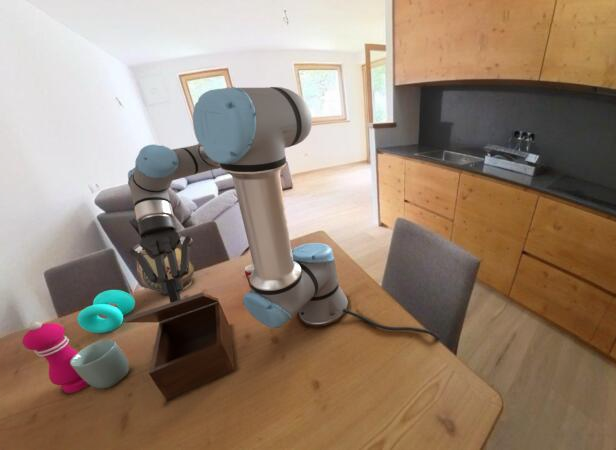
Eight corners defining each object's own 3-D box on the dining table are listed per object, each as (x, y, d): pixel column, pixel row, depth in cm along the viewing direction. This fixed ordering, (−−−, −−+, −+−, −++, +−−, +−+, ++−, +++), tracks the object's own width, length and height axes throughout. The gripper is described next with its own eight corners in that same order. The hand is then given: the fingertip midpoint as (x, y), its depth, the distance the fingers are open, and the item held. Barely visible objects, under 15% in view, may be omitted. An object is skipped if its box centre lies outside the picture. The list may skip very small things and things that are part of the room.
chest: (234, 370, 71) (221, 343, 67) (167, 401, 64) (148, 373, 60) (230, 326, 85) (219, 301, 80) (174, 348, 78) (159, 322, 74)
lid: (203, 295, 64) (202, 292, 64) (124, 322, 57) (123, 318, 57) (218, 301, 80) (218, 298, 80) (158, 322, 74) (157, 319, 74)
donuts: (142, 308, 94) (128, 284, 90) (126, 329, 85) (109, 305, 81) (106, 315, 92) (90, 292, 87) (86, 338, 83) (67, 313, 78)
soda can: (272, 292, 98) (264, 264, 93) (259, 301, 94) (249, 272, 89) (264, 288, 101) (254, 260, 96) (250, 296, 97) (240, 268, 92)
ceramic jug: (148, 287, 104) (107, 215, 91) (196, 270, 113) (165, 202, 100) (151, 310, 93) (105, 231, 79) (204, 289, 102) (171, 215, 89)
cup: (108, 396, 66) (86, 369, 62) (84, 391, 68) (60, 363, 63) (141, 367, 73) (123, 340, 69) (119, 363, 75) (99, 336, 70)
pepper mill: (65, 400, 66) (9, 341, 57) (58, 385, 69) (4, 327, 61) (105, 376, 71) (60, 318, 62) (97, 363, 75) (53, 307, 66)
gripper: (190, 220, 80) (211, 297, 74) (131, 233, 74) (149, 318, 68) (181, 208, 73) (203, 292, 68) (116, 221, 67) (135, 314, 62)
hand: (176, 305), depth 68 cm, fingers closed
